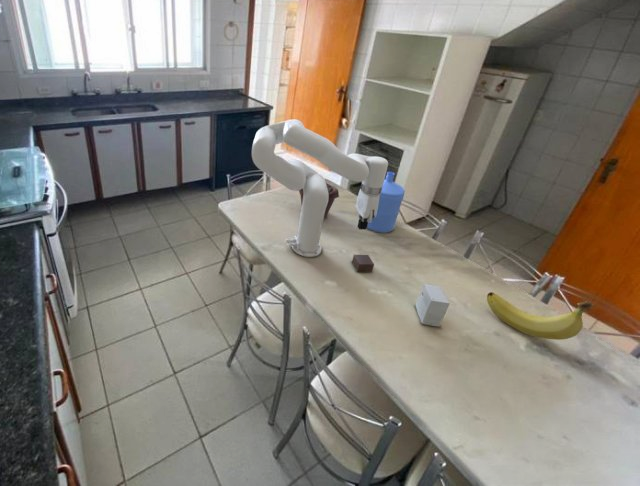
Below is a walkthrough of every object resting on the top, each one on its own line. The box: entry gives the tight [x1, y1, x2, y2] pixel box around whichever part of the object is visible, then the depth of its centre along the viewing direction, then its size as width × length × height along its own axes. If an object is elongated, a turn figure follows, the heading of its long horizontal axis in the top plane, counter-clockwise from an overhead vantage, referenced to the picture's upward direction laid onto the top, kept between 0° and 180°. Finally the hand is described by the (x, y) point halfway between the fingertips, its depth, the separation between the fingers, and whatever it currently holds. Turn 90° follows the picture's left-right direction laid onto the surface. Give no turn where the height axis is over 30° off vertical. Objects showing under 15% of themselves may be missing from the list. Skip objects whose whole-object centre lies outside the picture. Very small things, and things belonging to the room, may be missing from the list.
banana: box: [486, 292, 594, 341], centre depth 104 cm, size 23×6×20 cm, turn 36°
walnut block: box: [351, 254, 375, 273], centre depth 132 cm, size 6×6×4 cm
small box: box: [415, 283, 450, 328], centre depth 109 cm, size 8×6×10 cm
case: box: [298, 182, 340, 220], centre depth 165 cm, size 18×20×18 cm
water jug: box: [367, 171, 406, 234], centre depth 156 cm, size 16×16×28 cm
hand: (361, 228), depth 134 cm, fingers closed
